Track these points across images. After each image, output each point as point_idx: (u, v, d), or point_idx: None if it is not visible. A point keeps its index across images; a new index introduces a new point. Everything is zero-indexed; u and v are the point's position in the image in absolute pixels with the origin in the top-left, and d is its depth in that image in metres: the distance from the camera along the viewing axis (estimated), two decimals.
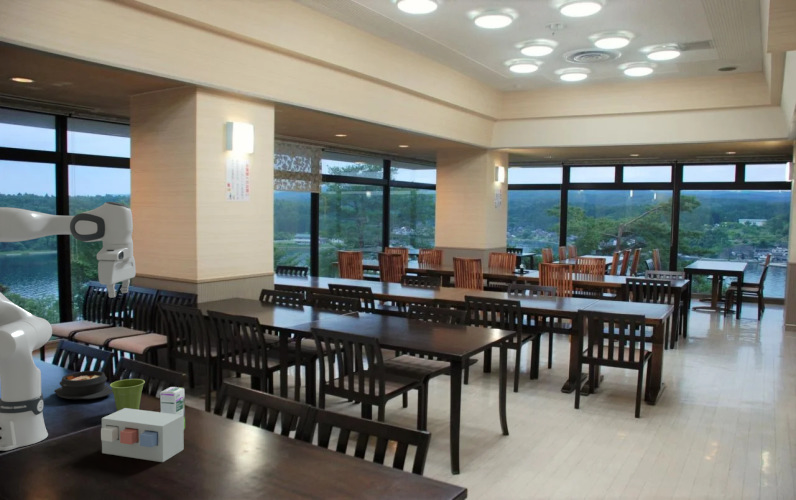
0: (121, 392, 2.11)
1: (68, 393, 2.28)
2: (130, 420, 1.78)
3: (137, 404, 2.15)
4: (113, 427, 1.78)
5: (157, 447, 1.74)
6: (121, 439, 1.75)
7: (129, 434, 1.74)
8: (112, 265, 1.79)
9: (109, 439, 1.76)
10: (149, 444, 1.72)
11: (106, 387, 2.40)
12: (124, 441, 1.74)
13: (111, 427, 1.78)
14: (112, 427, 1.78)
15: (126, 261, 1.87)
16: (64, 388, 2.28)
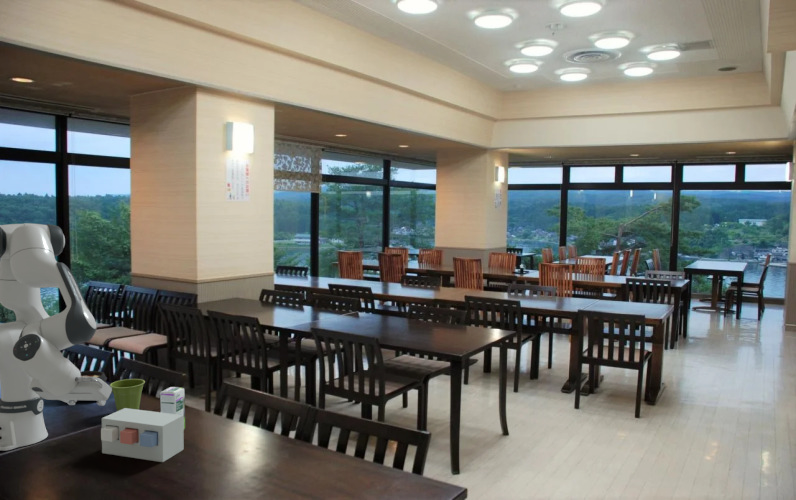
0: (121, 392, 2.11)
1: None
2: (130, 420, 1.78)
3: (137, 404, 2.15)
4: (113, 427, 1.78)
5: (157, 447, 1.74)
6: (121, 439, 1.75)
7: (129, 434, 1.74)
8: None
9: (109, 439, 1.76)
10: (149, 444, 1.72)
11: None
12: (124, 441, 1.74)
13: (111, 427, 1.78)
14: (112, 427, 1.78)
15: None
16: None
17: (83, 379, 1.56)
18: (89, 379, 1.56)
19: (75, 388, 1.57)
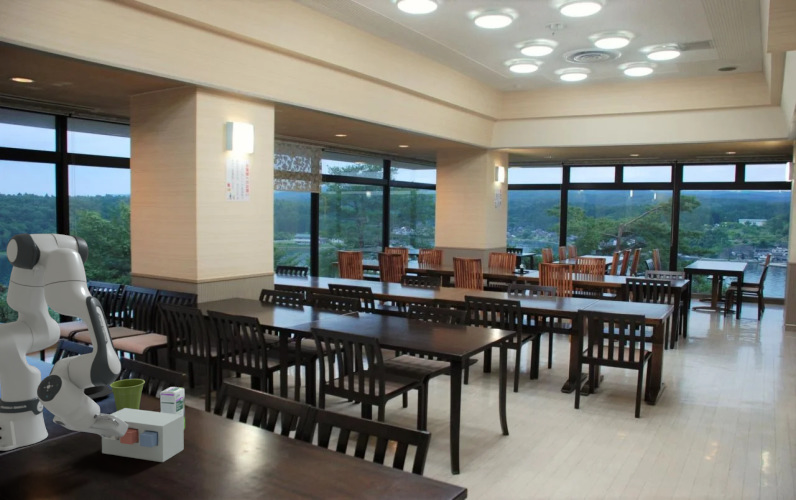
0: (121, 392, 2.11)
1: None
2: (130, 420, 1.78)
3: (137, 404, 2.15)
4: None
5: (157, 447, 1.74)
6: (121, 439, 1.75)
7: (129, 434, 1.74)
8: None
9: (112, 437, 1.77)
10: (149, 444, 1.72)
11: (106, 387, 2.40)
12: (124, 441, 1.74)
13: None
14: None
15: None
16: None
17: (101, 417, 1.65)
18: (106, 418, 1.65)
19: (94, 424, 1.66)
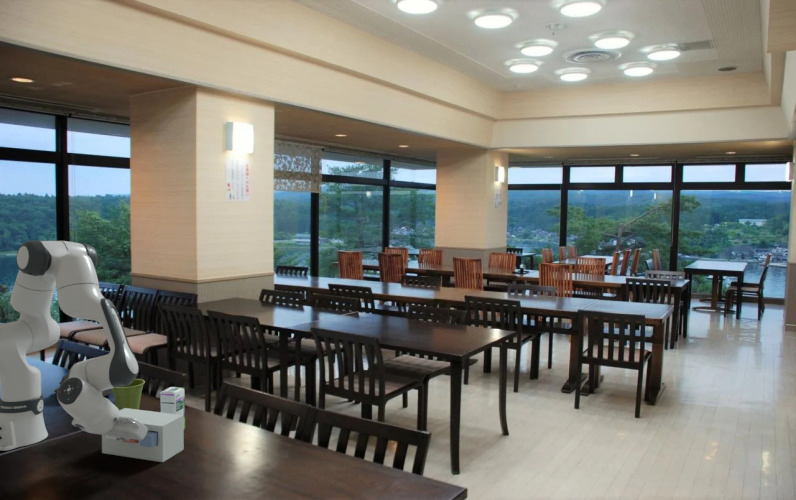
0: (121, 392, 2.11)
1: None
2: None
3: (137, 404, 2.15)
4: None
5: (157, 447, 1.74)
6: None
7: None
8: None
9: (113, 437, 1.78)
10: (149, 444, 1.72)
11: None
12: None
13: None
14: None
15: None
16: None
17: (121, 420, 1.63)
18: (126, 421, 1.62)
19: (113, 428, 1.64)
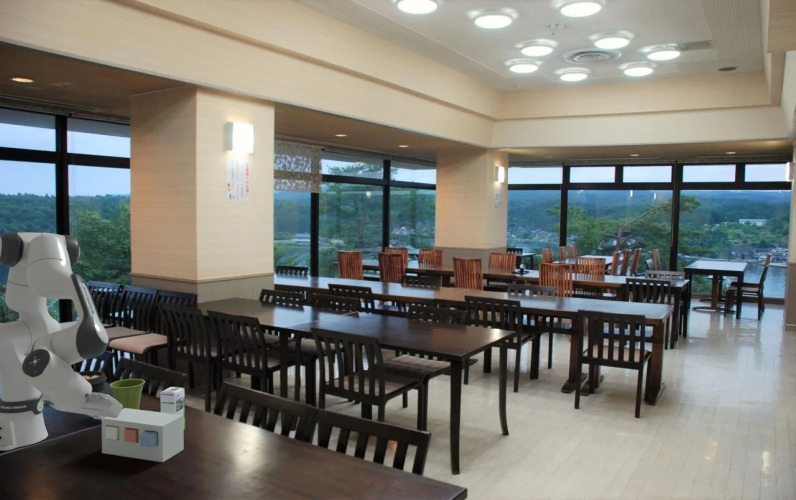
0: (121, 392, 2.11)
1: None
2: (130, 420, 1.78)
3: (137, 404, 2.15)
4: None
5: (157, 447, 1.74)
6: (125, 437, 1.76)
7: (132, 432, 1.75)
8: None
9: (113, 437, 1.78)
10: (149, 444, 1.72)
11: (106, 387, 2.40)
12: (128, 439, 1.76)
13: None
14: None
15: None
16: None
17: (93, 396, 1.52)
18: (98, 397, 1.52)
19: (85, 404, 1.54)
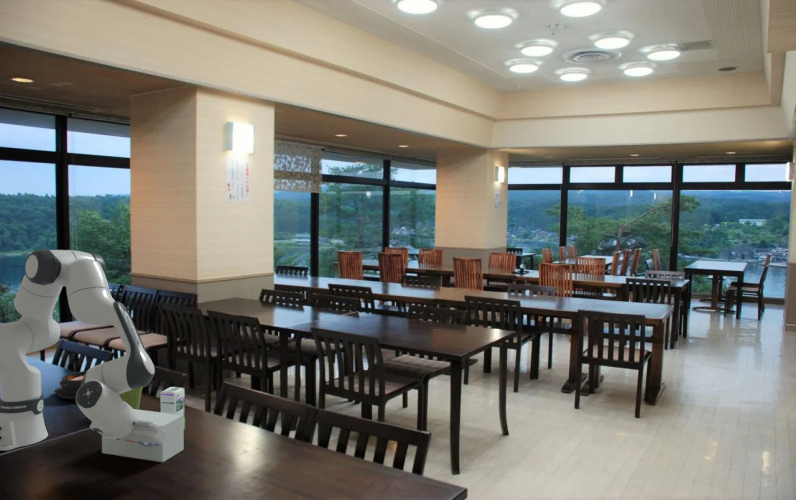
0: None
1: (68, 393, 2.28)
2: None
3: (137, 404, 2.15)
4: None
5: (157, 447, 1.74)
6: None
7: None
8: None
9: None
10: (150, 444, 1.72)
11: None
12: None
13: None
14: None
15: None
16: (64, 388, 2.28)
17: (140, 424, 1.60)
18: (145, 425, 1.60)
19: (132, 432, 1.62)
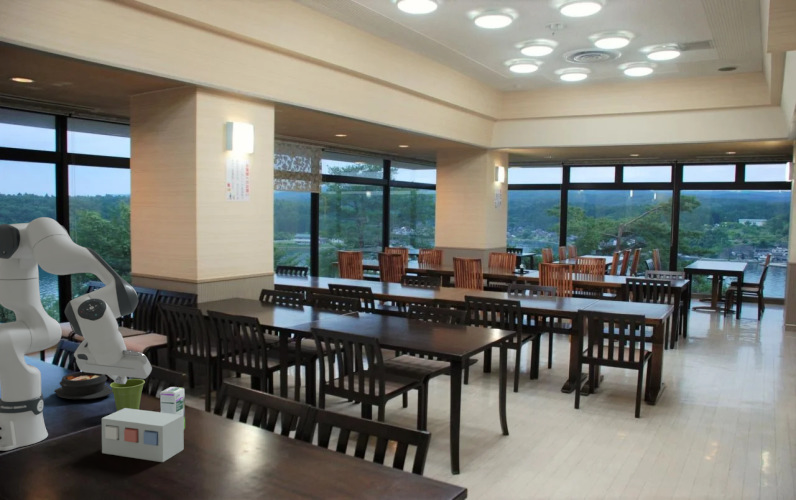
0: (121, 392, 2.11)
1: (68, 393, 2.28)
2: (130, 420, 1.78)
3: (137, 404, 2.15)
4: None
5: (157, 447, 1.74)
6: (125, 437, 1.76)
7: (132, 432, 1.75)
8: (76, 359, 1.63)
9: (113, 437, 1.78)
10: (153, 442, 1.74)
11: (106, 387, 2.40)
12: (128, 439, 1.76)
13: None
14: None
15: None
16: (64, 388, 2.28)
17: (131, 352, 1.62)
18: (137, 353, 1.61)
19: (120, 361, 1.62)
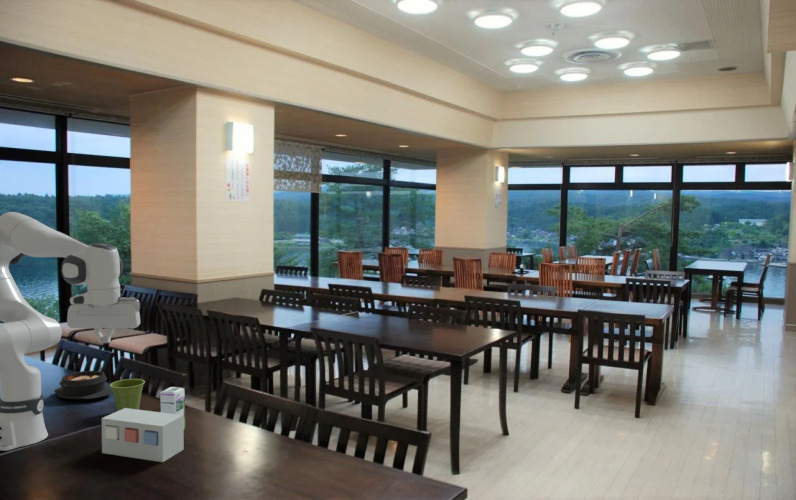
0: (121, 392, 2.11)
1: (68, 393, 2.28)
2: (130, 420, 1.78)
3: (137, 404, 2.15)
4: None
5: (157, 447, 1.74)
6: (125, 437, 1.76)
7: (132, 432, 1.75)
8: None
9: (113, 437, 1.78)
10: (153, 442, 1.74)
11: (106, 387, 2.40)
12: (128, 439, 1.76)
13: None
14: None
15: (96, 307, 1.72)
16: (64, 388, 2.28)
17: (126, 298, 1.75)
18: (133, 298, 1.76)
19: (114, 305, 1.74)
